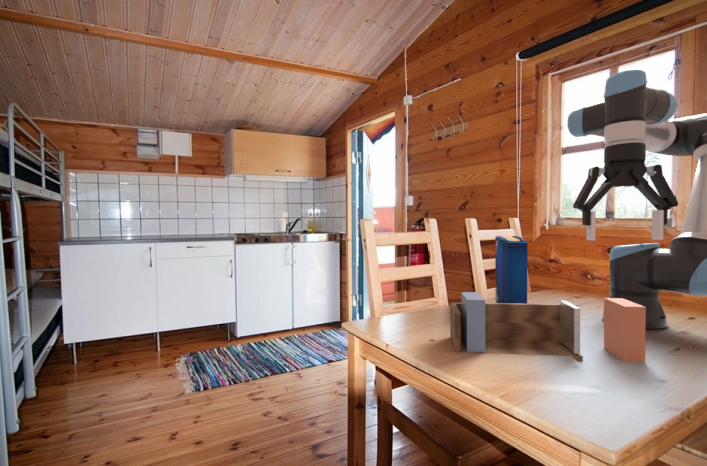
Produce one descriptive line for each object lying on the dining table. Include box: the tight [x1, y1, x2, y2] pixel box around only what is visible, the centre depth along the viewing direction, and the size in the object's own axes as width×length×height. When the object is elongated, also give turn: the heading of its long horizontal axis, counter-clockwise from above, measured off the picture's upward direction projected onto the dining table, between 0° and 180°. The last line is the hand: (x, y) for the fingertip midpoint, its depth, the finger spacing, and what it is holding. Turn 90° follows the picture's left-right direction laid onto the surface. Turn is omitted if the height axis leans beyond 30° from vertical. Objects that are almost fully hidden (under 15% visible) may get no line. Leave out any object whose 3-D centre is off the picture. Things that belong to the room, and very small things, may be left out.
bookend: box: [559, 299, 581, 354], centre depth 88 cm, size 1×8×10 cm, turn 171°
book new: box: [603, 297, 646, 363], centre depth 86 cm, size 4×9×12 cm, turn 171°
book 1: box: [461, 291, 486, 352], centre depth 91 cm, size 4×9×12 cm, turn 171°
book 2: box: [494, 235, 529, 304], centre depth 129 cm, size 22×7×25 cm, turn 168°
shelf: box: [449, 301, 584, 362], centre depth 91 cm, size 27×11×10 cm, turn 81°
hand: (623, 240), depth 85 cm, fingers open, 13 cm apart
